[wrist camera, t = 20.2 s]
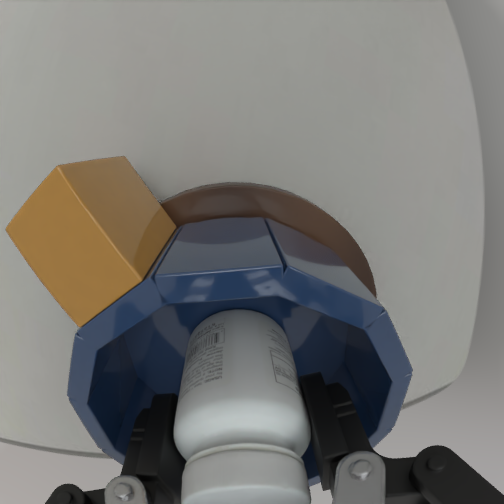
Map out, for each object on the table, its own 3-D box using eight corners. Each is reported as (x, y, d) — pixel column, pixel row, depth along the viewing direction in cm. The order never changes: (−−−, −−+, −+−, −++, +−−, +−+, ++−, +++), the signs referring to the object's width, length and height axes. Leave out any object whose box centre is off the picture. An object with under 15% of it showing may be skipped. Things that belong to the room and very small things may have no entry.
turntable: (360, 161, 13) (371, 163, 12) (364, 389, 18) (370, 401, 17) (69, 218, 13) (57, 224, 12) (154, 422, 18) (151, 435, 17)
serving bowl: (388, 353, 15) (433, 422, 10) (215, 441, 16) (214, 514, 11) (223, 85, 10) (215, 37, 5) (28, 253, 12) (-42, 304, 7)
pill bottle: (187, 380, 14) (169, 527, 6) (189, 300, 12) (153, 470, 5) (278, 386, 14) (306, 529, 7) (297, 309, 13) (354, 471, 5)
